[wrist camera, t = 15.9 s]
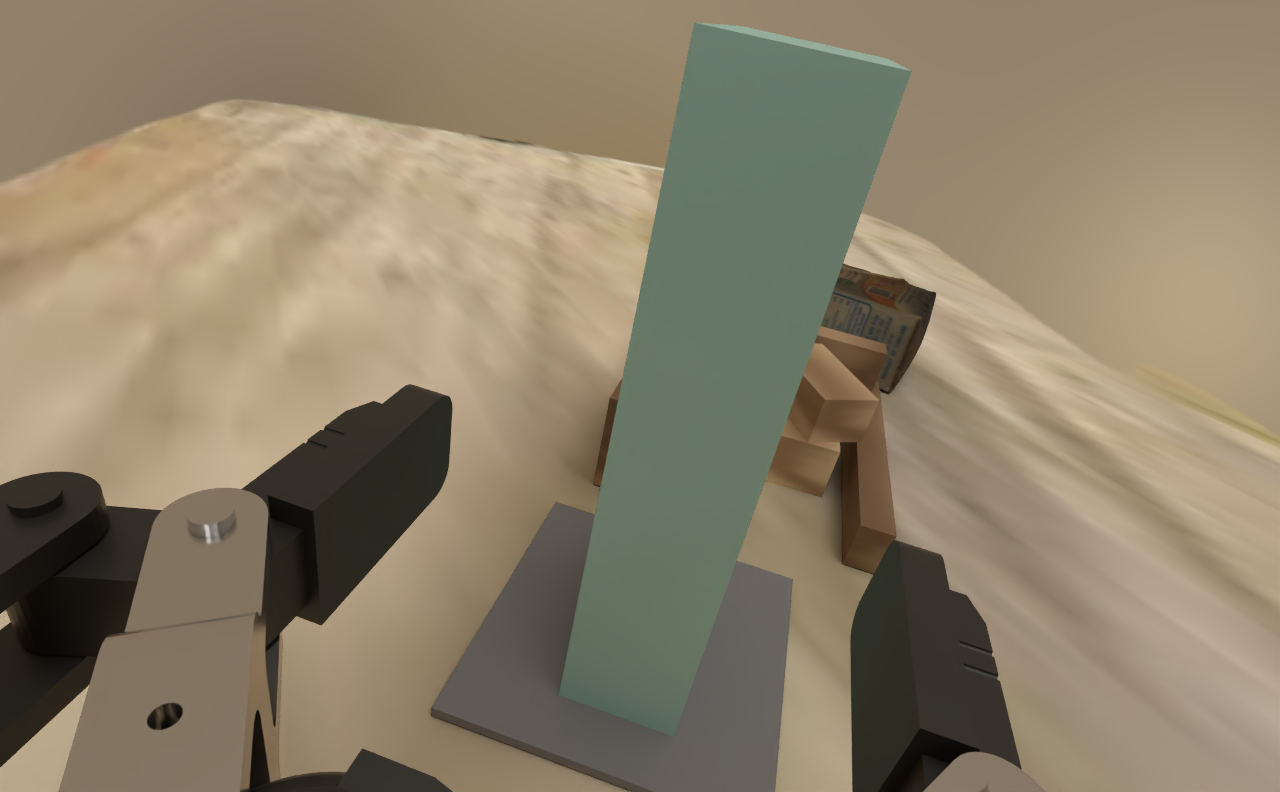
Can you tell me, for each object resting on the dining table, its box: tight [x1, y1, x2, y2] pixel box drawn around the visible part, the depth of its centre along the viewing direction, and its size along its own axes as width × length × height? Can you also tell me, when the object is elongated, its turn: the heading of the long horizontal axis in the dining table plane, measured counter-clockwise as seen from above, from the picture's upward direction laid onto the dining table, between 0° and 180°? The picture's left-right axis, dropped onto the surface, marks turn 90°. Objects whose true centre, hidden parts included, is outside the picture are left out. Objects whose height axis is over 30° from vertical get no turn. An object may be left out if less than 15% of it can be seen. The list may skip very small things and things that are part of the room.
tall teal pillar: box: [559, 23, 912, 737], centre depth 20 cm, size 4×7×20 cm, turn 165°
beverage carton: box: [821, 264, 936, 392], centre depth 52 cm, size 8×19×7 cm, turn 61°
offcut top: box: [788, 343, 879, 443], centre depth 37 cm, size 3×6×3 cm, turn 15°
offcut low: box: [765, 417, 840, 497], centre depth 38 cm, size 4×7×3 cm, turn 166°
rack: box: [593, 326, 896, 574], centre depth 38 cm, size 14×16×5 cm
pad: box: [431, 502, 793, 792], centre depth 25 cm, size 11×11×1 cm
